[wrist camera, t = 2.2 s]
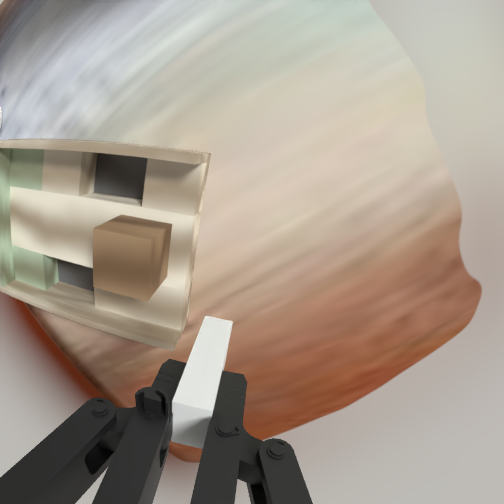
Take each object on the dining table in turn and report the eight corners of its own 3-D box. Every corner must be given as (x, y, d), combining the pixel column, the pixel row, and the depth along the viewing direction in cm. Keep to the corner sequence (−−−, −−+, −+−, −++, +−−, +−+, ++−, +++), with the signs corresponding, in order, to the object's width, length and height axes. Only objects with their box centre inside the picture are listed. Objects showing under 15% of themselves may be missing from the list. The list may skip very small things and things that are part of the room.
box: (25, 138, 26) (-6, 140, 21) (210, 153, 26) (196, 153, 21) (26, 274, 32) (0, 291, 27) (187, 321, 32) (173, 351, 27)
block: (121, 214, 26) (93, 228, 21) (172, 223, 26) (151, 240, 21) (118, 265, 27) (93, 286, 22) (167, 276, 27) (147, 301, 22)
